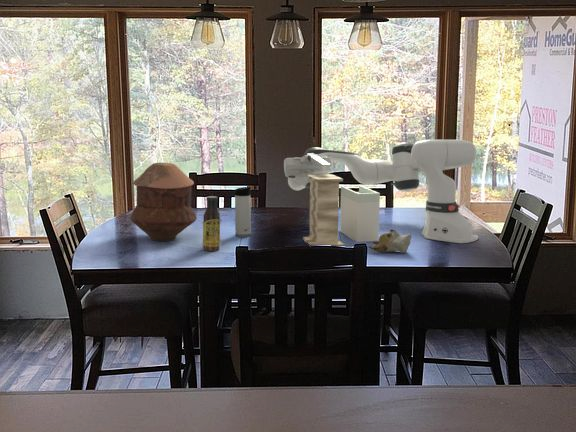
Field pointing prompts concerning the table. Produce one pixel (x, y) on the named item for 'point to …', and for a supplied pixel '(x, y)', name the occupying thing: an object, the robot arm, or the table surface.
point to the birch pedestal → (324, 210)
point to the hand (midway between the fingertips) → (312, 156)
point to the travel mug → (243, 212)
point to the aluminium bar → (318, 162)
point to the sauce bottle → (211, 225)
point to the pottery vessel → (163, 202)
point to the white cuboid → (360, 214)
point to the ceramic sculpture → (392, 242)
